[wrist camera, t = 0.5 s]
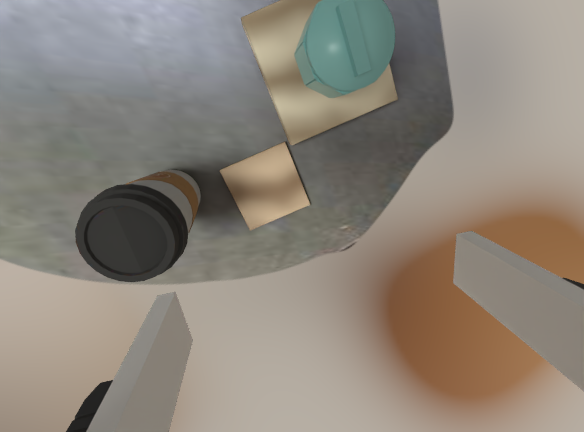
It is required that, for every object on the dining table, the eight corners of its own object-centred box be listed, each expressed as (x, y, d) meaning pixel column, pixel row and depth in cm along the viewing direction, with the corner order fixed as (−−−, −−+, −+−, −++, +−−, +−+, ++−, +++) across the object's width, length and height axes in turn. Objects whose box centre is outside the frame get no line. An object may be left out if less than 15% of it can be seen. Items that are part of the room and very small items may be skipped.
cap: (285, 31, 27) (295, 4, 21) (355, 0, 27) (386, -36, 21) (312, 106, 30) (328, 103, 23) (375, 78, 30) (409, 68, 23)
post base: (241, 23, 31) (237, -18, 21) (358, -28, 31) (405, -92, 21) (289, 143, 36) (302, 153, 26) (390, 100, 36) (439, 94, 26)
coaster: (220, 169, 36) (219, 170, 35) (284, 141, 36) (285, 142, 35) (250, 228, 39) (250, 230, 38) (309, 203, 39) (310, 204, 38)
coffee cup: (197, 154, 35) (160, 179, 21) (217, 215, 38) (195, 274, 24) (130, 168, 34) (45, 204, 20) (155, 229, 37) (96, 298, 23)
